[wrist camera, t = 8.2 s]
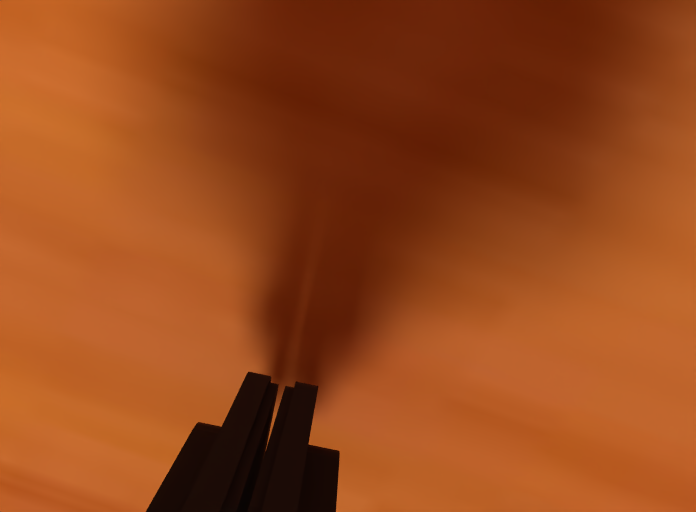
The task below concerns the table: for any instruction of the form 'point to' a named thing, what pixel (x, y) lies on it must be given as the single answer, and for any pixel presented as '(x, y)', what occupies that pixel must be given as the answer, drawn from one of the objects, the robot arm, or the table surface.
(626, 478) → the table surface
